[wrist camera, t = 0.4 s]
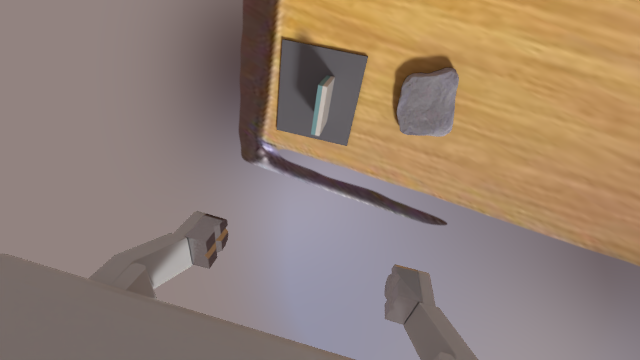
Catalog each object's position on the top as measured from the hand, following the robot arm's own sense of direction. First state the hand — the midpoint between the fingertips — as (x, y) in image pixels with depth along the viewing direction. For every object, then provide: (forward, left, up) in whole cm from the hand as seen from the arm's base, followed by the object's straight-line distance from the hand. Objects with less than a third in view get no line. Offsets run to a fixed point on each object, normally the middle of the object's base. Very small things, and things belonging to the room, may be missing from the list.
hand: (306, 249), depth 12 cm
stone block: (+3, +12, -45) cm, 46 cm away
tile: (+6, -6, -43) cm, 44 cm away
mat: (+6, -8, -44) cm, 45 cm away
